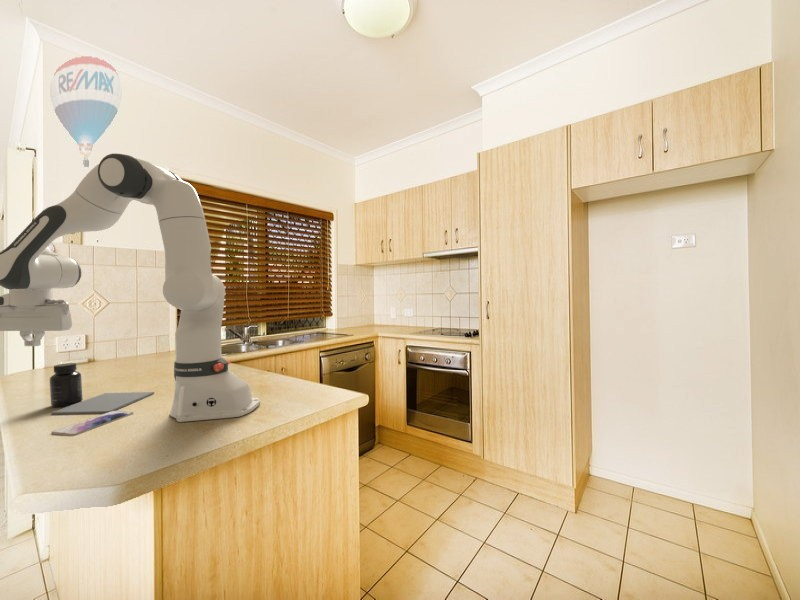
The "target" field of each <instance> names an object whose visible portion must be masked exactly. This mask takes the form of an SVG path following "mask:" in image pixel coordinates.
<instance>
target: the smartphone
mask: <svg viewBox="0 0 800 600" xmlns="http://www.w3.org/2000/svg"><path fill="white" fill-rule="evenodd" d="M132 415H134V412H133V411H122V410H116V411H111V412H108V413H101V414H100V415H97V416H93V417H91V418H88V419H85V420H82V421H79V422H76V423H73V424H70V425H67V426H65V427H61V428H59V429H56V430H53V431H51V433H50V434H51V435H53V434H54V435H55V436H65V437H75V436H79V435H81V434H83V433H86V432H89V431H92V430H94V429H97V428H100V427H103V426H105V425H107V424H111V423H113V422H116V421H118V420H121V419H123V418H127V417H129V416H132Z"/></svg>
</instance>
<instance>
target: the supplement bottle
mask: <svg viewBox="0 0 800 600" xmlns="http://www.w3.org/2000/svg"><path fill="white" fill-rule="evenodd" d="M77 369H78V368H77V363H76V362H69V363H68V362H67V363H61V364H55V365H54V366H53V373H54V374H53V375H51V376H50V377H49V391H50V392H49V394H50V405H51V408H56V409H57V408H65V407H68V406H71V405H73V404H76V403H79V402H82V401H84V400H83V385H82V384H83V383H82V374H81V372H79V371H77Z"/></svg>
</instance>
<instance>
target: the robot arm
mask: <svg viewBox="0 0 800 600" xmlns="http://www.w3.org/2000/svg"><path fill="white" fill-rule="evenodd" d="M132 201H136V202H140V203H142V204H146V205H151V206H154V208H155V210H156V215H157V220H158V225H159V230H160V233H161V234H160V235H161V239H162V244H163V248H164V249H163V251H164V256H165V257H164V261H165V263H164V273H165V277H164V278H165V281H164V282H163V285H162V294H163V297H164V299H165V301H167V303H168V304H169V305H171V306H172V307H174V308H175V309H178V310H180V314H179V315H180V316H179V321H178V325H177V328H176V331H175V339H174V341H175V342H174V343H175V361H174V363H173V377H174V381H175V383H174V384H175V385H174V386H175V387H174V396H173V401H172V405H171V409H170V412H169V416H170V417H172V418H175V419H176V422H178V423H184V422H193V421H194V422H196V421H205V420H206V421H207V420H217V419H218V420H219V419H228V418H230V419H231V418H239V417H242V416H244V415H245V416H246V415H247V414H249V413H251V412H252V411H254V410H255V409H257V407H259V406H260V398H258V397H254V396H252V391H251V387H250V385H249V383H248V382H247V381H246V380H244V379H242V378H241V377H239V376H237V375H236V374H235V373H233V372H232V371H230V370H229V365H231V359H228V360H227V359H225V358H223V357H222V323H223V316H224V308H225V307H224V306H225V297H226V296H225V294H226V287H225V284H224V283H223V281H222V280H221V279H220V278H219V277H218V276H217V275H215V274H213V273H212V263H211V261H212V260H211V251H212V245H211V239H210V235H209V231H208V226H207V221H206V217H205V216H206V215H205V213H204V208H203V205H202V204H201V201H200V198H199V196H198V193H197V191H196V189H195V188H194V187H193V185H191V184H190V183H189V182H187V181H184V180H183V179H182V178H181V177H180V176H179V175H177V174H175V173H174V172H172V171H171V170H167V169H165V168H162V167H160V166H157V165H155V164H154V163H152V162H149V161H147V160H144V159H143V160H142V159H140V158H137V157H136V158H135V157H134V156H131V155H129V154H123V153H110V154H106V156H104V157H103V158H102V159H101V160H100V162H99V163H98V164H97V165H95V166H94V167H93V168H92V169H91V170H90V171H88V173H87V174H86V175H85V176H84V177H83V178H82V179H81V180H80V182H79V184H78V185H77V187H76V188H75V189H74V191H73V192H72V193H71V194H70V195H69V196H68V197H66V199H64V200H62V201H61V202H59V203H57V204H55V205H52V206H47V207H46V208H44V209H43V210H42V211H41V212H40V213H39V214H38V215H36V217H34V219H32V221H31V222H30V223H29V224H28V225H27V226H26V227H25V228H24V229H23V230H22V231H21V232H20V234H18V236H17V237H16V238H14V240H13V241H12V242H11V243H10V244H9V245H8V246H7V247H6V248H4V249H2V250H1V251H0V287H2V288H4V289H6V290H8V293H5V294H3V295H0V332H19V336H20V337H21V338H22V340H23V343H24V347H39V346H42V345H41V344H42V343H41V341H42V338H43V337H44V336H45V334H46V332H62V331H69V330H71V328H72V327H73V321H72V320H73V319H72V314H71V310H70V304H69V303H68V302H67V301H65V300H64V299H54V290H53V289H68V288H73V287H74V286H76V285H77V284H79V282H80V280H81V278H82V269H81V265H80V264H79V263H78V262H77V261H76V260H75V259H74V258H72V257H67V256H65V255H61V254H58V253H56V252H54V251H52V250H51V248H50V247H49V246H50V245H51V244H52V243H53V241H55V240H56V239H59V238H60V237H64V236H65V235H70V234H76V233H87V232H88V233H89V232H98V231H99V232H100V231H104V230H108V229H110V228H111V227H112V226H114V225H115V224H116V223H118V221H119V220H120V219H121V217H122V216H123V214H124V212H125V211H126V209H127V208H128V205H129V204H130V203H131V202H132ZM31 335H34V336H33V337H32V336H31Z"/></svg>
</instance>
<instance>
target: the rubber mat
mask: <svg viewBox="0 0 800 600" xmlns="http://www.w3.org/2000/svg"><path fill="white" fill-rule="evenodd" d="M152 395H155V391H148V392H147V391H144V392H143V391H141V392H137V391H135V392H133V391H132V392H104V393H102V394H99V395H96V396H93V397H91V398H90V397H89V398H87V399H85V400H82V402H79V403H76V404H73V405H71V406H67V407H61V408H60V409H57V410H53V411H51V413H50V415H55V416H56V415H83V414H84V415H85V414H87V415H89V414H92V415H93V414H105V413H108V412H111V411H119V410H120V409H123V408H125V407H127V406H129V405H132V404H134V403H137V402H138V401H141V400H144V399H145V398H148V397H151V396H152Z"/></svg>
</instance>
